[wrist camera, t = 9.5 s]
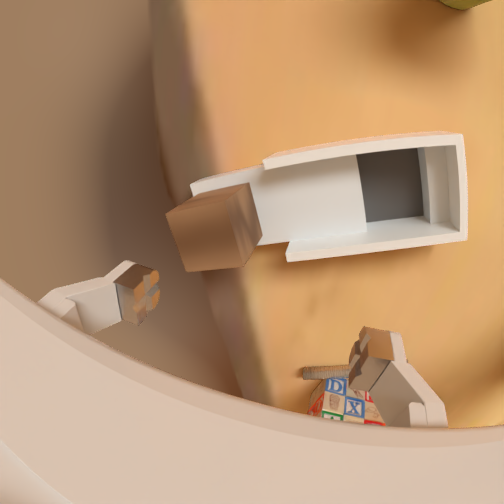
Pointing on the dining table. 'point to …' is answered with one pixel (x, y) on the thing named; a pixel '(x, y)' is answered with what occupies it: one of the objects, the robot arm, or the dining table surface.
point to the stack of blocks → (343, 403)
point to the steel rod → (327, 372)
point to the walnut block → (216, 228)
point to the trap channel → (358, 194)
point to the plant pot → (463, 3)
